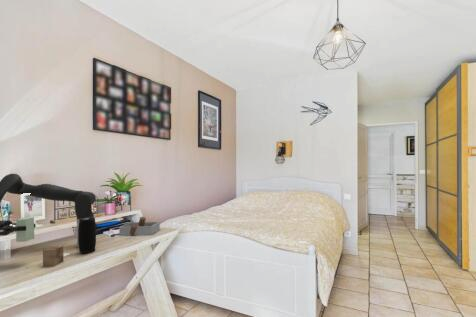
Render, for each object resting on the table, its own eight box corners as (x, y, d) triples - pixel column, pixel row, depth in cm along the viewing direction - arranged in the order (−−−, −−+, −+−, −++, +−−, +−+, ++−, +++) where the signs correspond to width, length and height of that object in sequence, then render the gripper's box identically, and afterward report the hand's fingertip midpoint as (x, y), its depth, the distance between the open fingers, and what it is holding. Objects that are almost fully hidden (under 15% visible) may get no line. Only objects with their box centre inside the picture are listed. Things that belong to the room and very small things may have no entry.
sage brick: (25, 238, 132) (24, 217, 132) (34, 238, 132) (34, 217, 132) (16, 241, 127) (16, 219, 127) (25, 241, 127) (25, 219, 127)
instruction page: (52, 253, 144) (52, 253, 144) (71, 253, 143) (71, 252, 143) (40, 259, 136) (40, 258, 136) (60, 258, 135) (60, 258, 135)
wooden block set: (133, 238, 178) (136, 226, 176) (125, 232, 182) (128, 220, 180) (152, 231, 194) (155, 219, 193) (144, 226, 198) (148, 214, 196)
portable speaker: (75, 255, 140) (75, 219, 141) (82, 249, 150) (82, 216, 150) (92, 253, 142) (92, 218, 143) (98, 248, 152) (97, 215, 152)
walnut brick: (52, 261, 131) (52, 246, 132) (63, 261, 131) (63, 246, 131) (42, 266, 125) (42, 249, 126) (54, 266, 125) (54, 249, 125)
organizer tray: (129, 230, 196) (129, 222, 196) (159, 229, 195) (159, 221, 195) (119, 235, 180) (119, 227, 180) (152, 235, 179) (151, 226, 179)
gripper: (-17, 224, 123) (17, 222, 122) (11, 217, 137) (41, 216, 137) (-17, 239, 123) (17, 238, 122) (11, 231, 137) (41, 230, 136)
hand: (30, 227), depth 129 cm, fingers closed on sage brick, 5 cm apart
